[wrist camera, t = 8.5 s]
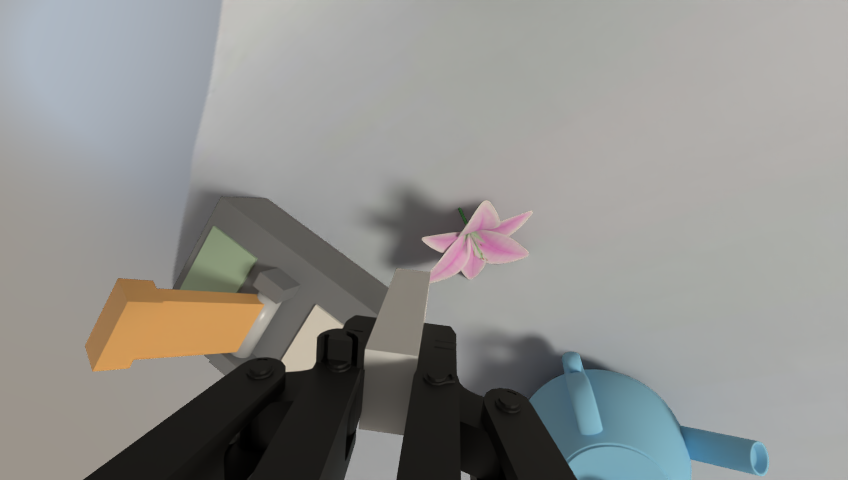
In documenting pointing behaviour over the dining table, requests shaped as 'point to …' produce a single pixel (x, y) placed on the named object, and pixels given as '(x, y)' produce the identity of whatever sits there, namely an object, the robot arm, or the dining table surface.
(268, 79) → the dining table surface
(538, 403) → the teapot
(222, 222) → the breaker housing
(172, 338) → the breaker lever
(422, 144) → the dining table surface
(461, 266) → the lily
